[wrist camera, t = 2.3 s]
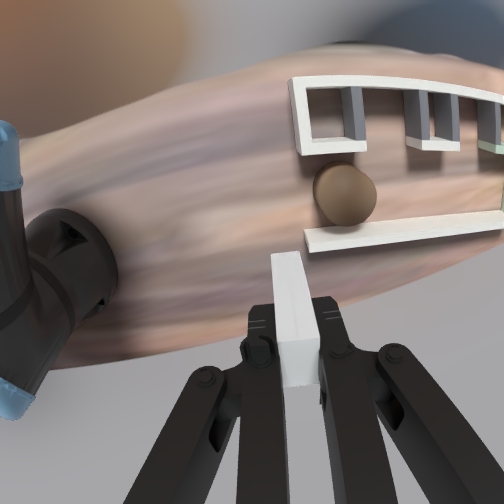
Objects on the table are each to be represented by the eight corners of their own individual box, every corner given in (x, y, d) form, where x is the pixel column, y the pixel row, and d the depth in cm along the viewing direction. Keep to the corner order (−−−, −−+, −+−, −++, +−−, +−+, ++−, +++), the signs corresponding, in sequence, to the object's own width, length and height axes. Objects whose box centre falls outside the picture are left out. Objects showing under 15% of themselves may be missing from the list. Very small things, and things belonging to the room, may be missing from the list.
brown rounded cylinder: (314, 214, 31) (321, 229, 27) (310, 163, 28) (318, 171, 25) (363, 209, 30) (376, 223, 27) (362, 159, 28) (376, 167, 24)
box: (304, 237, 32) (309, 252, 29) (287, 81, 24) (292, 77, 21) (503, 216, 29) (518, 226, 26) (509, 99, 22) (527, 102, 19)
